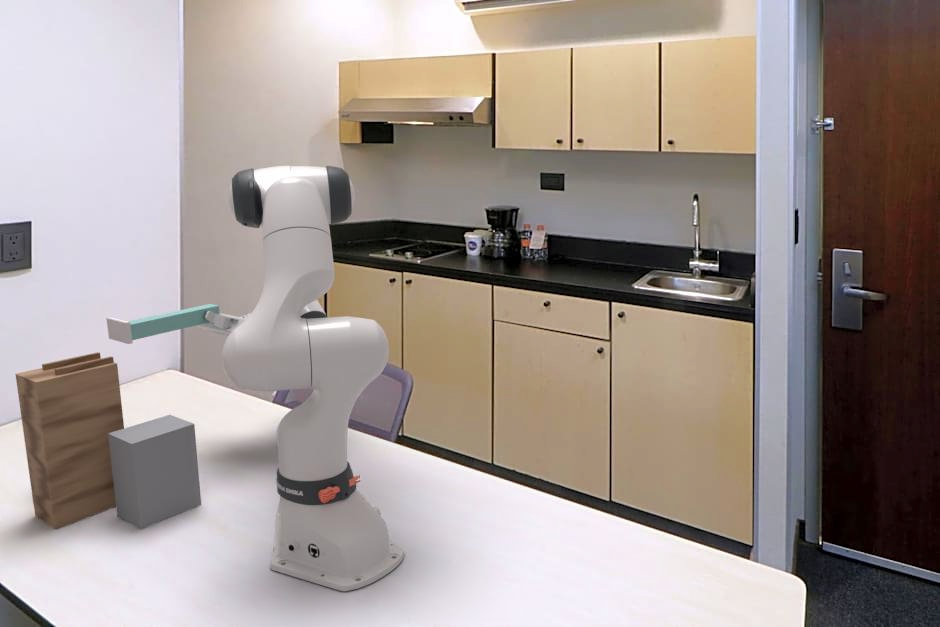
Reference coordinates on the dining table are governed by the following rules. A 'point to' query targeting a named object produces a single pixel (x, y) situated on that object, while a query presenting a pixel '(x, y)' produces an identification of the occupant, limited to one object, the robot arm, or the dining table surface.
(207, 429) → the dining table surface
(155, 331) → the scraper
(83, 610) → the dining table surface
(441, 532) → the dining table surface
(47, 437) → the upright wood-grain block
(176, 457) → the upright gray brick
